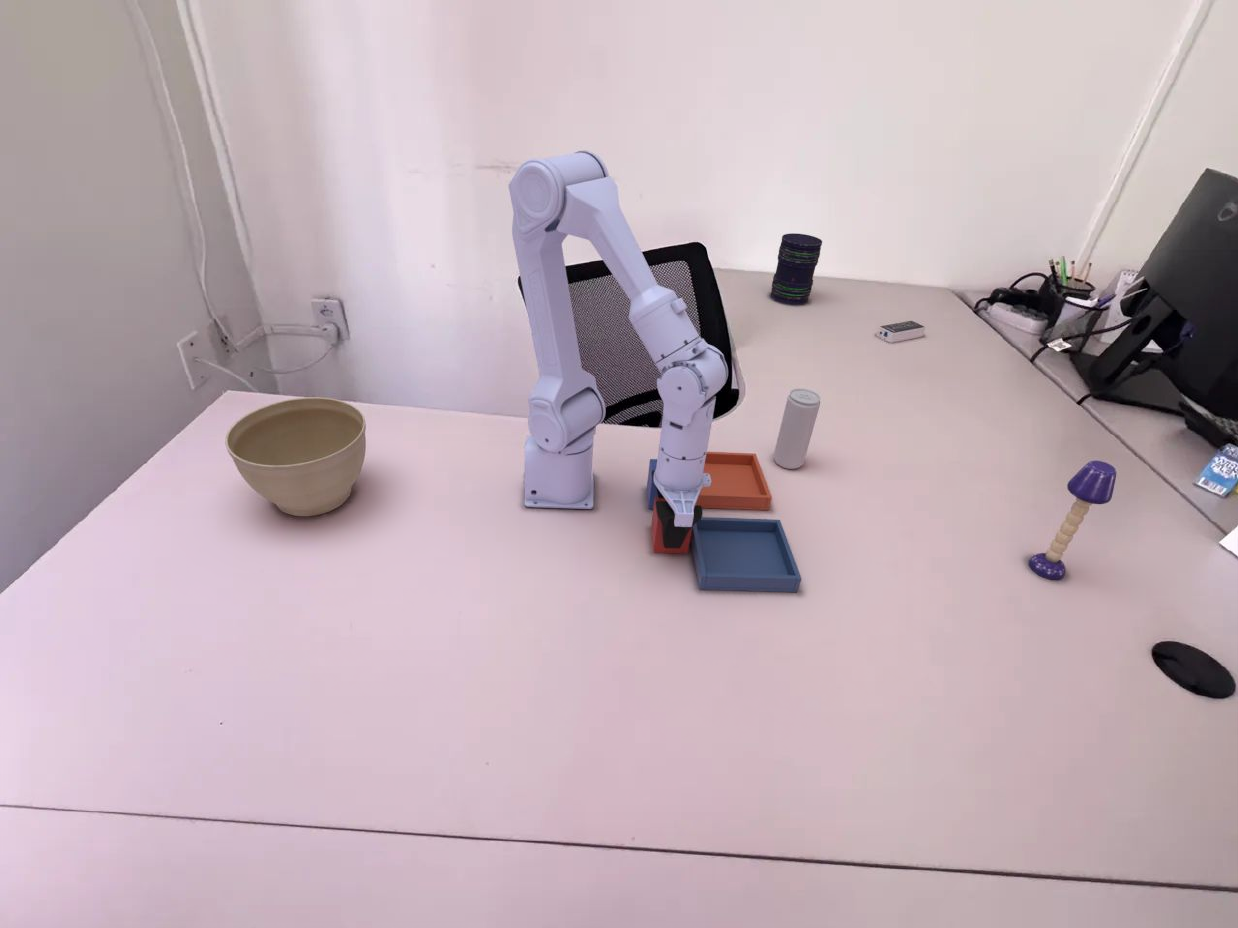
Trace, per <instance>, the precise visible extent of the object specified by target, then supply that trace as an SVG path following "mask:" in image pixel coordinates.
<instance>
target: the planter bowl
mask: <svg viewBox="0 0 1238 928" xmlns="http://www.w3.org/2000/svg"><path fill="white" fill-rule="evenodd" d="M225 447H226V450H227V453H228V455H229V456H230V457H231V458H232V460H233V463H234V465H235V467H236V469H237V471H238V473H239V474H240V475H241V477H242V478H243V479H244V481H245V482H246V484H248V486H250V487H251V488H252V490H254V491H255V492H256V493H257V494H259V495H260V496H261V497H262V498H264V499H266V500H268V502H271V503H273V504H275V505H276V508H278V509H279V510H280V511H281V512H283V513H285V514H287V515H291V516H295V517H312V516H313V517H314V516H319V515H322V514H325V513H329V512H331V511H334V510H335V509H337V508H339V507H340V506H342V505H343V504H344V503H345V502H346V501H347V500H348V498H350V496H351V493H352V488H353V486H354V484H355V483H356V481H357V480H358V477H359V475H360V473H361V471H362V468H363V465H364V461H365V456H366V450H367V449H366V447H367V439H366V419H365V416H364V414H363V412H362V411H361V410H360V409H359V408H358V407H356V406H354V405H352V404H351V403H349V402H347V401H343V400H339V399H335V398H331V397H320V396H311V397H310V396H309V397H307V396H306V397H296V398H290V399H284V400H280V401H275V402H273V403H270V404H266V405H264V406H261V407H259V408H257V409H255V410H252V411H250V412H248V413H246V414H245V415H243V416H242V417H240V418H239V419H237V421H235V422H234V423H233V424H232V425H231V426H230V428H229V429H228V431H227V433H226V435H225Z"/></svg>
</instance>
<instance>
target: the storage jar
mask: <svg viewBox="0 0 1238 928" xmlns="http://www.w3.org/2000/svg"><path fill="white" fill-rule="evenodd" d="M781 236H782V237H781V242H780V246H779V248H778V254H777V265H776V270H775V273H774V274H773V276H772V282H771V288H770V290H771V292H770V294H769V297H770V299H771V300H773V301H774V302H777V303H779V304H782V305H787V306H804V305H807V304H808V303H809V297H810V295H811V292H812V288H813V285H814V279H813V278H814V274H815V270H816V267H817V265H818V263H819V259H820V256H821V249H822V245H823V240H822V239H821V238H819V237H816V236H813V235H810V234H804V233H793V232H792V233H791V232H790V233H785V234H783V235H781Z"/></svg>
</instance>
